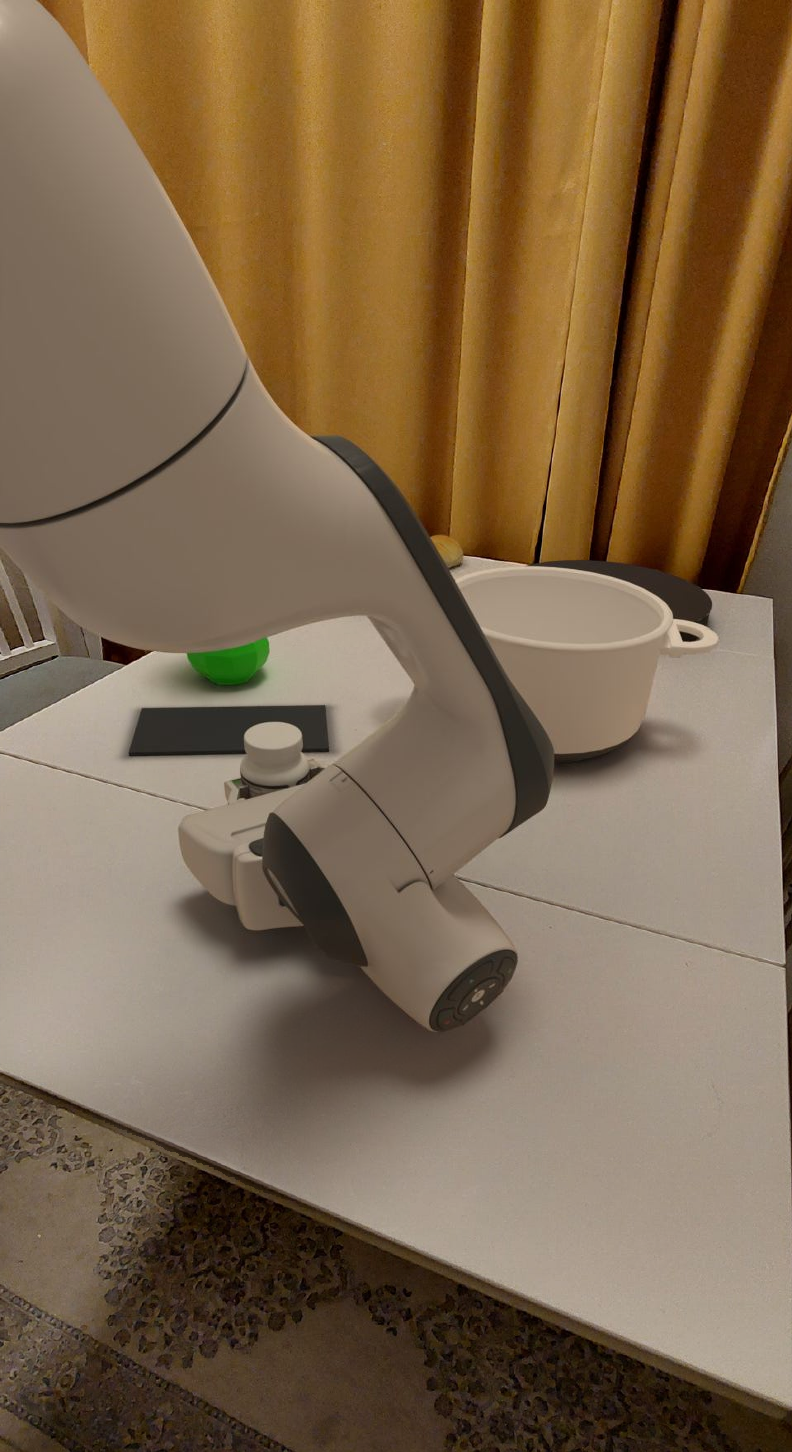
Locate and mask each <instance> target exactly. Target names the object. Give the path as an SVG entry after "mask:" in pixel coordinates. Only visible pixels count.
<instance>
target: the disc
mask: <svg viewBox="0 0 792 1452" xmlns="http://www.w3.org/2000/svg"><path fill="white" fill-rule="evenodd" d="M526 566H538V567H556V568H566V569H575V570H581V571H587V572H593V573H597V574H602V575H606V576H610V577H614V578H617V579H620V580H623V581H627V582H629V583H632V584H634V585H637V586H639V587H641V588H644V589H645V590H647V591H649V592H651V593H652V594H654V595H656V596H658V597H659V598H660V599H661V600H663V601H664V602H665V603H666V604H667V605H668V607H669V608H670V610H671V611H672V614H673V619H678V620H686V621H690V622H695V623H698V624H701V625H704V626H706V627H707V626H708V622H709V619H710V614H711V611H712V609H713V600H712V599H711V597H710V595H709V593H708V592H706V591H705V590H704V589H702V588H701V587H700V586H698V585H697V584H694V583H693V582H691V581H689V580H688V579H684V578H682V577H679V576H677V575H675V574H671V573H669V572H664V571H662V570H659V569H654V568H650V567H645V566H642V565H635V564H630V563H624V562H616V561H606V560H594V559H593V560H591V559H590V560H589V559H563V560H562V559H561V560H549V561H543V562H536V563H531V564H527V565H526ZM679 633H680V636H681V638H682V641H683V642H692V641H694V640H695V639H697V638H698V637H697V636H695V635H693V634H690V633H687V632H682V631H679Z"/></svg>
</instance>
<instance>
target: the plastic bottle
mask: <svg viewBox="0 0 792 1452" xmlns="http://www.w3.org/2000/svg"><path fill="white" fill-rule="evenodd" d="M270 652H271V651H270V642H269V639H268V637H267V638H264V639H261V640H258V641H256V642H253V643H250V644H247V645H244V646H240V647H236V648H231V649H225V650H220V651H211V652H201V653H186V657H187V661H188V662H189V663H190V665H191V667H192V668H193V669H194V670H195V671H196V672H197V673H198V674H200V675H202V676H203V677H205V678H206V679H208V681H209V682H212V683H214V684H215V685H216V684H217V685H220V686H235V685H239V684H244V683H247V682H248V681H249V680H251V679H252V678H253V676H254V675H255V674H256V673H257V672H258V671H259V670H260V669H262V667H263V666H265V664H266V662H267V661H268V658H269V655H270Z"/></svg>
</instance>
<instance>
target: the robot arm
mask: <svg viewBox="0 0 792 1452" xmlns="http://www.w3.org/2000/svg"><path fill="white" fill-rule="evenodd" d="M225 304H226V303H225V302H224V299H223V298H222V296H221V294H220V292H219V290H218V288H217V286H216V284H215V282H214V280H213V278H212V276H211V274H210V272H209V270H208V268H207V266H206V263H205V262H204V260H203V258H202V256H201V255H200V253H199V250H198V249H197V246H196V244H195V243H194V241H193V239H192V237H191V235H190V233H189V231H188V229H187V228H186V226H185V224H184V222H183V220H182V219H181V217H180V215H179V214H178V211H177V210H176V208H175V206H174V204H173V202H172V201H171V199H170V197H169V195H168V194H167V192H166V190H165V188H164V186H163V184H162V182H161V181H160V179H159V177H158V176H157V174H156V172H155V170H154V169H153V167H152V165H151V164H150V162H149V160H148V159H147V157H146V155H145V154H144V151H142V148H141V147H140V145H139V143H138V142H137V140H136V138H135V137H134V135H133V134H132V132H131V131H130V129H129V126H128V125H127V123H126V122H125V121H124V119H123V117H122V115H121V114H120V112H119V110H118V109H117V107H116V105H115V104H114V103H113V101H112V100H111V98H110V96H109V95H108V94H107V92H106V90H105V88H104V87H103V85H102V84H101V82H100V81H99V79H98V77H97V76H96V74H95V73H94V71H93V70H92V68H91V67H90V64H88V62H87V61H86V59H85V58H84V56H83V55H82V53H81V52H80V50H79V49H78V47H77V45H76V44H75V42H74V41H73V39H72V38H71V37H70V35H68V33H67V31H66V30H65V29H64V27H63V26H62V25H61V24H60V23H59V21H58V20H57V19H56V18H55V17H54V16H53V15H52V14H51V12H49V10H48V9H46V7H44V5H43V4H42V3H40V1H38V0H0V549H1V550H2V551H3V552H4V553H5V554H6V555H7V556H8V558H9V559H10V560H11V561H12V562H13V563H14V564H15V565H16V567H17V568H18V569H19V570H20V571H21V572H22V573H23V574H24V576H26V577H27V579H29V581H30V582H31V583H33V584H34V586H35V587H36V588H37V589H38V590H40V591H41V593H42V594H44V596H45V597H46V598H47V599H48V600H49V601H50V602H51V603H52V604H53V605H55V606H56V607H57V608H58V609H59V610H60V611H61V612H62V613H63V614H65V616H67V618H68V619H70V620H71V621H72V622H73V623H75V624H76V625H77V626H79V627H81V628H82V629H84V630H85V631H87V632H89V633H91V634H94V635H96V636H98V637H100V638H102V639H105V640H107V641H109V642H112V643H115V644H119V645H123V646H126V647H130V648H134V649H137V650H142V651H151V652H156V653H157V652H158V653H159V652H160V653H166V654H167V653H168V654H187V653H201V652H211V651H220V650H225V649H231V648H236V647H240V646H244V645H247V644H250V643H253V642H256V641H258V640H261V639H264V638H267V639H268V638H270V637H273V636H276V635H278V634H281V633H284V632H288V631H290V630H293V629H297V628H301V627H304V626H307V625H312V624H315V623H319V622H325V621H330V620H334V619H340V618H341V619H342V618H348V617H359V616H361V617H362V616H364V617H367V619H368V620H369V621H370V623H371V625H372V626H373V627H374V629H375V630H376V631H377V633H378V635H379V636H380V637H381V639H382V640H383V641H384V643H385V645H386V646H387V647H388V649H389V650H390V652H391V653H392V654H393V656H394V657H395V659H396V661H397V662H398V663H399V664H400V666H401V667H402V669H403V671H404V672H405V673H406V675H407V676H408V677H409V678H410V680H411V681H412V683H413V688H412V691H411V693H410V695H409V697H408V698H407V700H406V702H405V703H404V704H403V705H402V707H401V708H400V710H398V711H397V712H396V714H394V715H393V716H392V717H391V718H390V719H388V720H387V721H386V722H385V723H384V724H383V725H381V726H380V727H379V728H377V729H376V730H375V731H373V732H372V733H371V734H370V735H368V736H367V737H366V738H364V739H363V740H362V741H360V742H359V743H358V744H357V745H355V746H354V747H353V748H351V749H350V750H349V751H347V752H346V753H345V754H344V755H342V756H341V757H340V758H338V759H337V760H336V761H334V763H332V764H325V762H323V761H322V760H321V759H320V758H318V757H315V758H312V759H309V760H308V759H307V760H308V762H309V766H310V781H308V782H307V783H305V784H301V785H298V786H294V787H290V788H287V789H283V790H279V791H276V792H272V793H268V794H265V795H261V796H257V797H254V798H250V797H249V796H248V794H249V786H248V784H247V783H246V782H244V781H243V779H242V778H241V777H239V778H235V779H230V780H226V781H224V782H223V787H224V795H225V799H226V801H227V804H224V805H222V806H221V805H220V806H218V807H214V808H210V809H206V810H203V811H199V812H196V813H191V814H188V815H185V816H183V818H182V819H181V821H180V823H179V825H178V827H177V833H178V842H179V847H180V853H181V857H182V860H183V862H184V864H185V865H186V867H187V868H188V870H189V871H190V873H191V874H192V875H193V876H194V877H195V879H196V881H198V882H199V884H201V886H202V887H203V888H204V889H205V890H206V891H207V892H208V893H209V894H210V895H211V896H212V897H213V898H215V899H216V900H218V901H219V902H222V903H223V904H225V905H230V906H234V907H236V910H237V914H238V917H239V921H240V923H241V924H242V926H243V927H245V928H246V929H247V930H250V931H264V930H271V929H281V928H290V927H294V928H295V927H304V928H305V930H306V932H307V934H308V936H309V937H310V938H311V940H312V942H314V944H315V945H316V947H317V948H318V949H319V950H320V951H321V952H322V953H323V954H324V956H326V957H327V958H329V959H330V960H333V961H336V962H339V963H343V964H346V965H349V966H354V967H360V968H361V970H362V971H363V973H364V974H366V975H367V976H368V978H369V979H370V980H371V981H372V982H373V984H375V985H376V986H377V988H379V990H380V991H381V992H382V993H384V995H386V996H387V997H388V998H389V999H390V1000H391V1001H392V1002H393V1003H394V1004H395V1005H397V1007H398V1008H400V1009H401V1010H402V1011H403V1012H404V1013H406V1014H407V1015H408V1016H409V1017H410V1018H412V1019H413V1020H414V1021H415V1022H416V1023H418V1024H419V1025H420V1026H422V1027H423V1028H425V1029H426V1030H428V1031H431V1032H434V1033H442V1032H447V1031H451V1030H453V1029H456V1028H458V1027H460V1026H464V1025H465V1024H468V1022H470V1021H471V1020H473V1019H474V1018H476V1016H478V1015H479V1014H480V1013H481V1012H483V1011H484V1010H485V1009H486V1008H488V1007H489V1006H490V1005H491V1004H492V1003H493V1002H494V1001H495V1000H497V999H498V998H499V997H500V996H501V994H502V993H504V991H505V989H506V988H507V986H508V985H509V983H510V982H511V980H512V979H513V977H514V973H515V971H516V969H517V965H518V961H519V954H518V951H517V949H516V947H515V945H514V943H513V942H512V940H511V939H510V938H509V936H508V934H507V933H506V931H504V929H503V928H502V926H501V925H500V924H499V922H498V921H497V920H496V919H495V918H494V916H492V914H491V913H490V912H489V910H488V909H487V908H486V907H485V905H484V904H483V903H482V902H481V901H480V900H479V899H478V898H477V897H476V896H475V895H474V894H473V893H472V891H471V890H470V889H469V888H468V887H467V886H466V885H465V884H464V883H463V882H462V881H461V880H460V879H458V878H457V876H456V875H455V874H456V873H457V872H458V871H460V870H461V869H462V868H463V867H464V866H466V865H467V864H468V863H469V862H471V861H472V860H473V859H474V858H476V857H477V856H478V855H480V853H482V852H483V851H484V850H486V849H487V848H488V847H489V846H491V844H493V843H494V842H495V841H496V840H498V839H501V838H503V837H504V836H506V835H508V834H510V833H511V832H512V831H514V830H515V829H516V828H518V827H520V826H521V825H523V824H524V823H525V822H526V821H528V820H530V819H531V818H532V817H534V816H536V815H537V814H539V813H540V812H541V811H543V810H544V809H545V808H546V806H547V804H548V802H549V798H550V794H551V790H552V783H553V778H554V772H555V771H554V770H555V762H554V749H553V745H552V743H551V741H550V739H549V737H548V735H547V733H546V731H545V730H544V728H543V726H542V725H541V723H540V722H539V720H538V719H537V717H536V716H535V714H534V713H533V711H532V710H531V709H530V707H529V706H528V704H527V703H526V702H525V700H524V699H523V698H522V696H521V695H520V693H519V692H518V691H517V689H516V688H515V686H514V685H513V684H512V682H511V681H510V679H509V678H508V676H507V675H506V673H505V671H504V669H503V667H502V666H501V664H500V662H499V660H498V659H497V657H496V655H495V653H494V651H493V649H492V648H491V646H490V644H489V642H488V640H487V638H486V637H485V635H484V633H483V631H482V629H481V628H480V626H479V624H478V622H477V620H476V618H475V617H474V615H473V613H472V611H471V609H470V607H469V606H468V604H467V602H466V600H465V598H464V596H463V595H462V593H461V591H460V589H459V587H458V585H457V584H456V582H455V578H454V575H453V574H452V573H451V571H450V568H448V567H447V565H446V564H445V562H444V560H443V558H442V557H441V555H440V553H439V552H438V550H437V548H436V546H435V545H434V543H433V541H432V540H431V538H430V537H431V536H430V534H429V533H428V531H427V529H426V528H425V526H424V525H423V523H422V522H421V520H420V518H419V516H418V515H417V514H416V512H415V510H414V509H413V507H412V506H411V504H410V502H409V501H408V499H407V498H406V496H405V495H404V494H403V492H402V491H401V490H400V489H399V487H398V486H397V485H396V483H395V481H393V479H392V478H391V477H390V476H389V475H388V474H387V472H386V471H385V470H384V469H383V468H382V467H381V466H380V464H378V463H377V461H376V460H374V459H373V458H372V457H371V456H370V455H369V454H367V453H366V452H365V451H364V450H363V449H361V448H360V447H359V446H358V445H356V443H354V442H352V441H351V440H349V439H348V438H346V437H344V436H341V435H338V434H322V435H321V434H320V435H319V434H317V435H309V434H307V433H306V432H305V431H303V430H302V429H301V428H299V427H298V426H297V425H296V424H295V423H294V422H293V421H292V420H291V419H290V418H289V417H288V415H286V414H285V413H284V412H283V410H281V408H280V407H279V406H278V404H277V403H276V401H275V400H274V399H273V398H272V396H271V395H270V394H269V392H268V391H267V388H266V387H265V386H264V384H263V382H262V381H261V378H260V377H259V375H258V374H257V371H256V370H255V367H254V365H253V363H252V361H251V358H250V357H249V354H248V353H247V351H246V348H245V346H244V343H243V341H242V340H241V337H240V335H239V332H238V331H237V328H236V326H235V324H234V322H233V320H232V317H231V315H230V313H229V311H228V309H227V307H226V305H225Z"/></svg>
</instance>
